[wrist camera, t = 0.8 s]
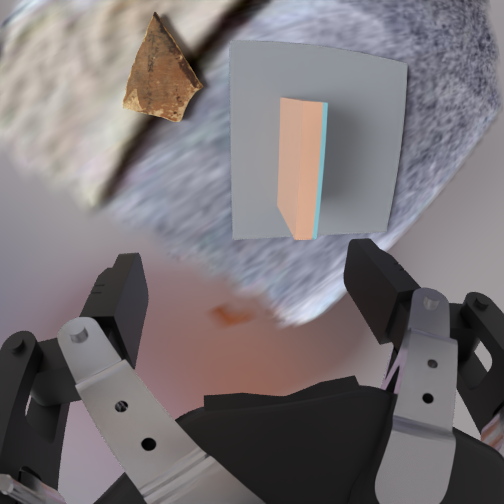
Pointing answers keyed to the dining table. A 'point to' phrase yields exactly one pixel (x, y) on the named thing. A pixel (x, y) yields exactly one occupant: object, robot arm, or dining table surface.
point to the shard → (160, 76)
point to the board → (337, 134)
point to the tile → (301, 164)
